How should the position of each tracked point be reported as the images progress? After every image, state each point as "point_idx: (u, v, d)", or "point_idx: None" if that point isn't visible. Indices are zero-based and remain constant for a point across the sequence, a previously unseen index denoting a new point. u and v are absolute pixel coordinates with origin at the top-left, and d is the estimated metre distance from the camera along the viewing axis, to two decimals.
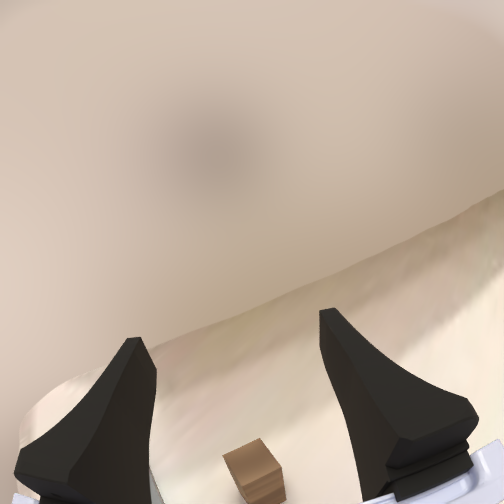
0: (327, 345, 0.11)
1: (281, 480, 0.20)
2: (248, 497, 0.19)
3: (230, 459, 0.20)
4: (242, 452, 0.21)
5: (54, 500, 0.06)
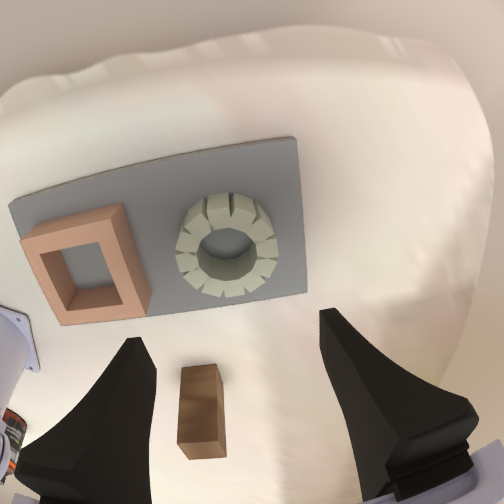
0: (327, 345, 0.11)
1: None
2: (178, 416, 0.23)
3: (210, 443, 0.21)
4: (216, 449, 0.22)
5: (54, 500, 0.06)
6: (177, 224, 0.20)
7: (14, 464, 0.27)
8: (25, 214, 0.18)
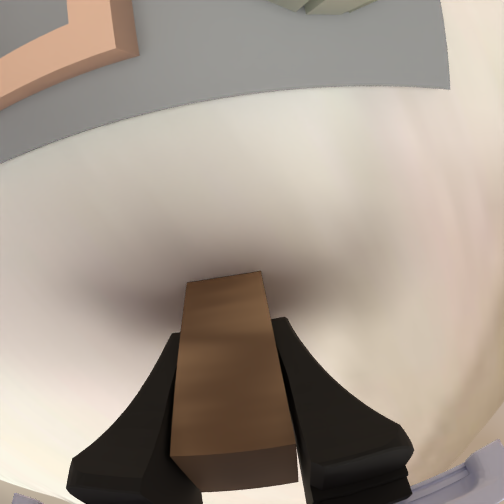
0: None
1: None
2: (176, 382, 0.09)
3: (270, 453, 0.07)
4: (280, 466, 0.08)
5: None
6: None
7: None
8: None
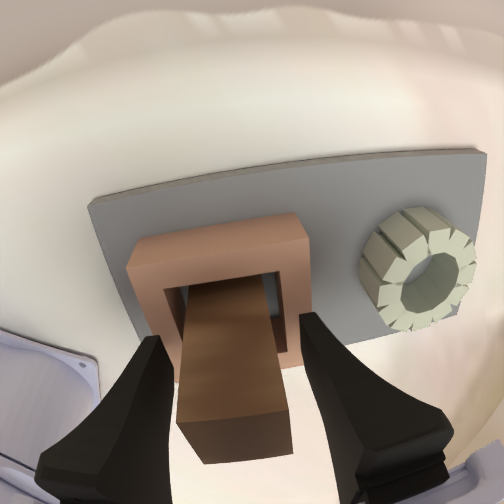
0: (306, 349, 0.11)
1: None
2: (182, 358, 0.11)
3: (266, 420, 0.08)
4: (275, 434, 0.09)
5: None
6: (361, 243, 0.15)
7: None
8: (120, 222, 0.14)
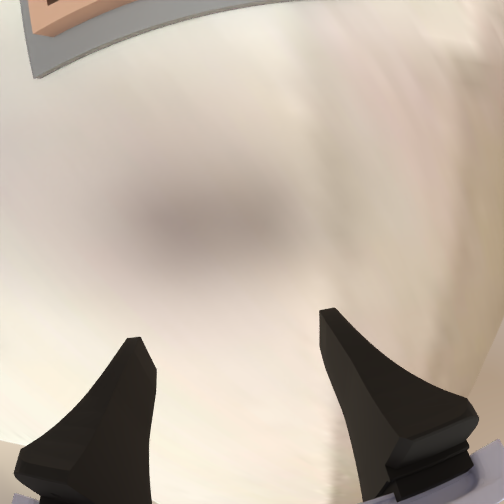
0: (327, 345, 0.11)
1: None
2: None
3: None
4: None
5: (54, 500, 0.06)
6: None
7: None
8: None
